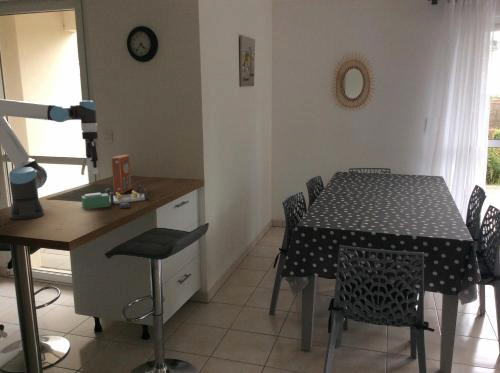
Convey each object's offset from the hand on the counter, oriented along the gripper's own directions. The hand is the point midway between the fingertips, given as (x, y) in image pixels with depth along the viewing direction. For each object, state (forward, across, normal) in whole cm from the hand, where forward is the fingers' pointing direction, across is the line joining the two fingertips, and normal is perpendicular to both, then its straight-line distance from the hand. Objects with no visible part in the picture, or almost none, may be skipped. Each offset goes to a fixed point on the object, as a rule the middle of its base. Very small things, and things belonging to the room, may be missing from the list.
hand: (93, 171), depth 240 cm
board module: (+19, 0, 0) cm, 19 cm away
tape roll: (+19, -10, -13) cm, 25 cm away
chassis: (+18, +7, -18) cm, 27 cm away
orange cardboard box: (+19, +30, -21) cm, 42 cm away
